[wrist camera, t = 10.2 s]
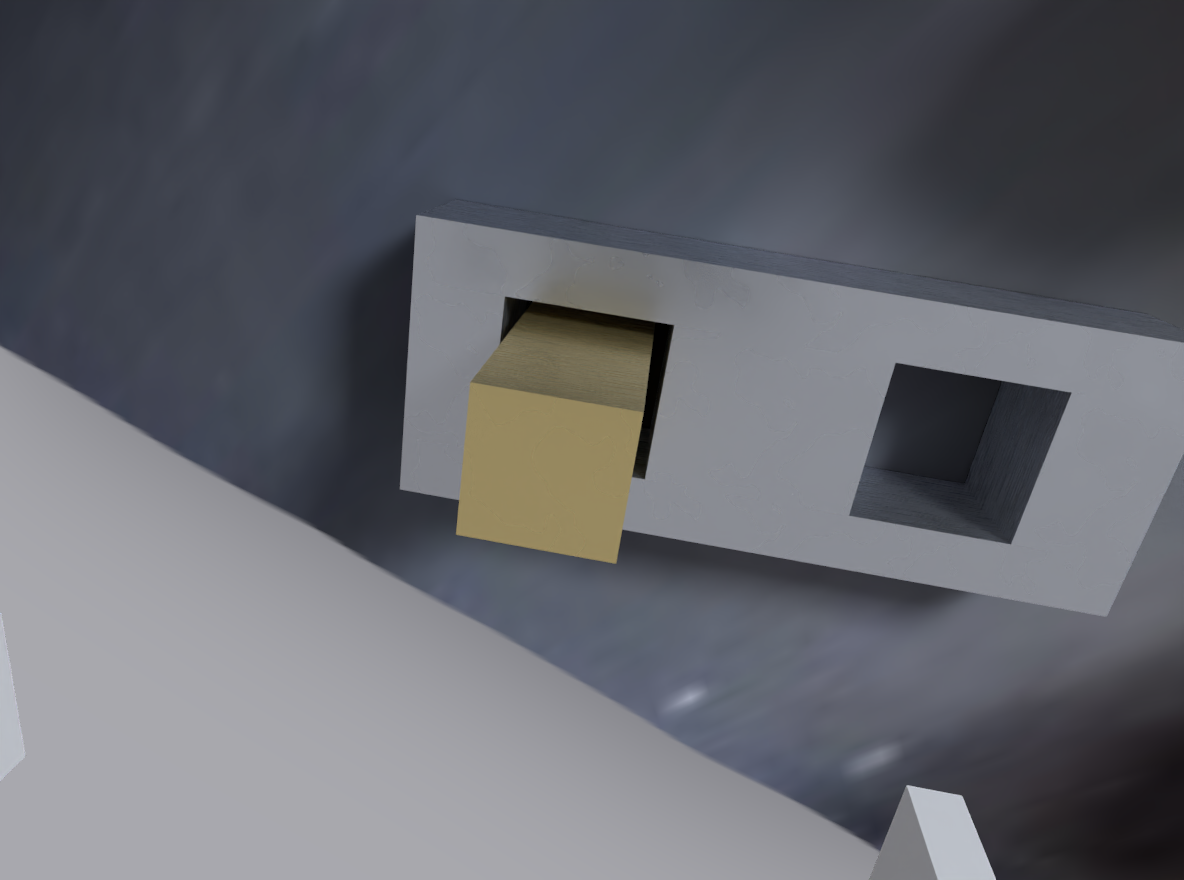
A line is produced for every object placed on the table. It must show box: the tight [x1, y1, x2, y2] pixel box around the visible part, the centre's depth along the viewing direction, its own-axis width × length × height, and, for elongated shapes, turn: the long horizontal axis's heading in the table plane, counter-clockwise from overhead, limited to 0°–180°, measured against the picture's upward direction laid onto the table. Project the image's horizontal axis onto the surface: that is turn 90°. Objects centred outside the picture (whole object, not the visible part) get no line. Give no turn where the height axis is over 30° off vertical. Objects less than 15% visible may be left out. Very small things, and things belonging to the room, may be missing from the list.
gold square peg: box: [456, 301, 655, 564], centre depth 27 cm, size 4×4×12 cm
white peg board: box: [400, 200, 1184, 617], centre depth 30 cm, size 10×26×5 cm, turn 82°
